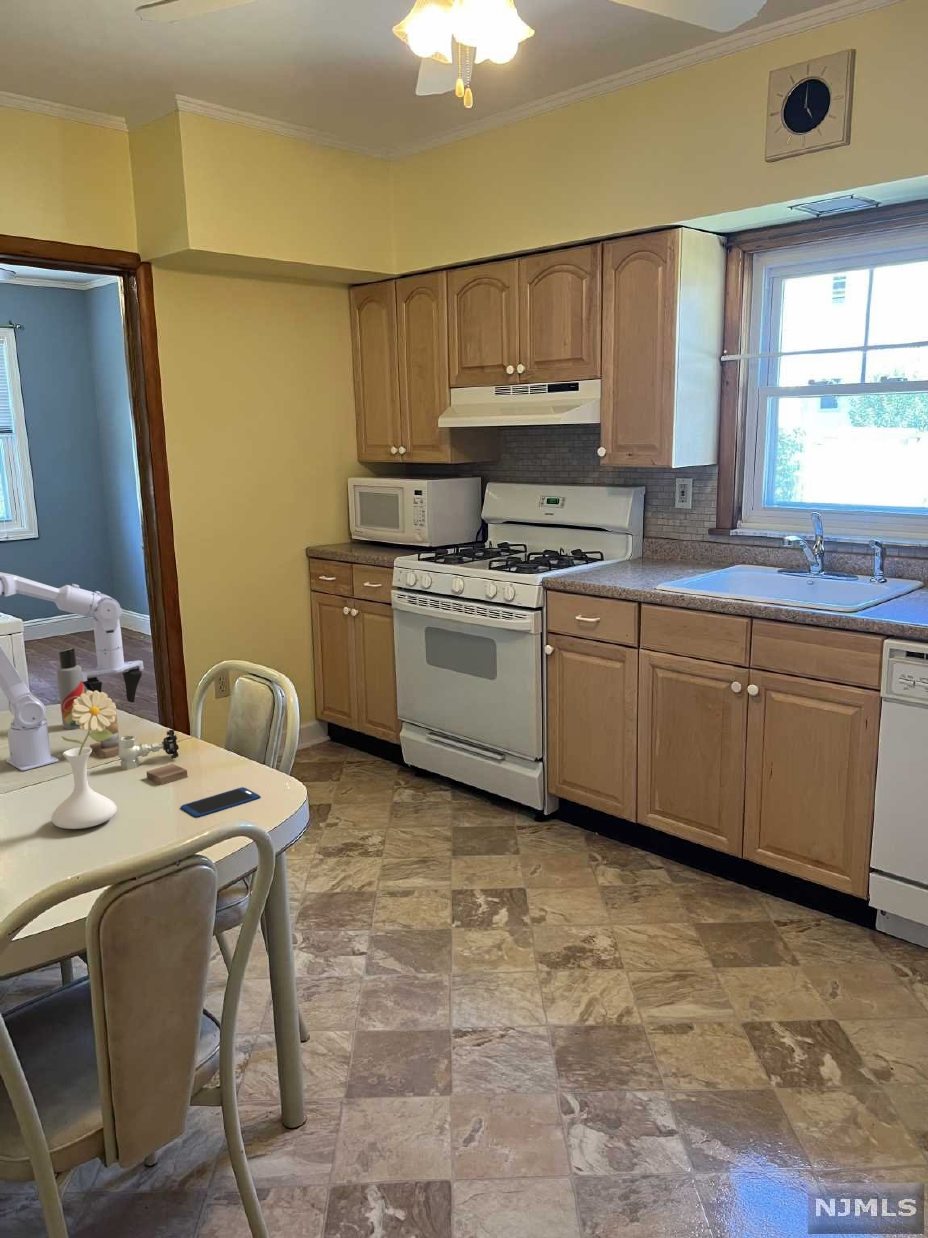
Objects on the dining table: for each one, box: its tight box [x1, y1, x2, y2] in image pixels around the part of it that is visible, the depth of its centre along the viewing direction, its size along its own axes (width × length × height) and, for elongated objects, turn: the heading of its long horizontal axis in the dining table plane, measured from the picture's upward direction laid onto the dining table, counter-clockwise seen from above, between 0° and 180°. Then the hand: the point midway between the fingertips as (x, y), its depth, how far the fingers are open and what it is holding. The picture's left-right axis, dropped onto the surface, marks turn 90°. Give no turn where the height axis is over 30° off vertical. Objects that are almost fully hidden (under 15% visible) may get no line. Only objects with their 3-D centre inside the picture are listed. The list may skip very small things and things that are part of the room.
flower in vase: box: [51, 690, 118, 830], centre depth 170 cm, size 13×11×25 cm
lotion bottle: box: [56, 647, 85, 730], centre depth 229 cm, size 6×6×20 cm
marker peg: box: [101, 709, 120, 748], centre depth 210 cm, size 4×4×8 cm
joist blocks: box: [89, 742, 188, 786], centre depth 203 cm, size 33×6×2 cm, turn 46°
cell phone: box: [180, 786, 261, 819], centre depth 179 cm, size 7×14×1 cm, turn 132°
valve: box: [118, 729, 180, 770], centre depth 202 cm, size 7×7×12 cm
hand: (115, 705), depth 213 cm, fingers open, 7 cm apart
